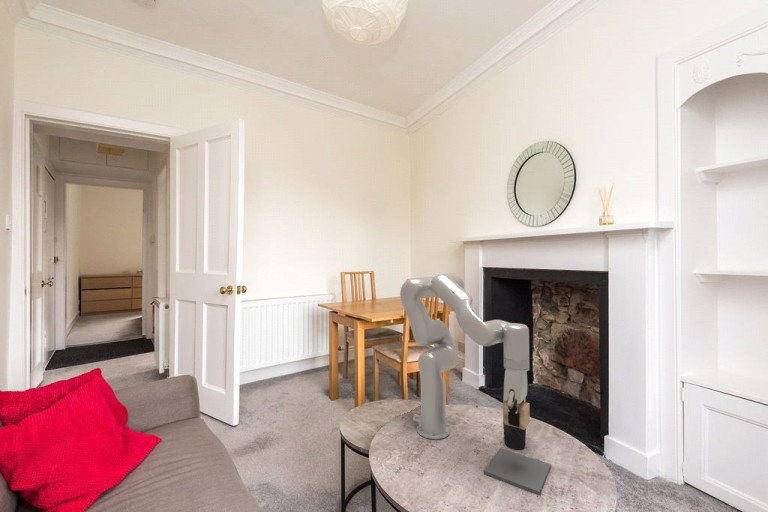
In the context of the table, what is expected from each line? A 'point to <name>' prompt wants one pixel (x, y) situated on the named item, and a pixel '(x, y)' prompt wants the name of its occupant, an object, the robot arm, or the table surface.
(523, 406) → the oak block
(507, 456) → the charcoal mat
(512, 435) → the travel mug
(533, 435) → the table surface
